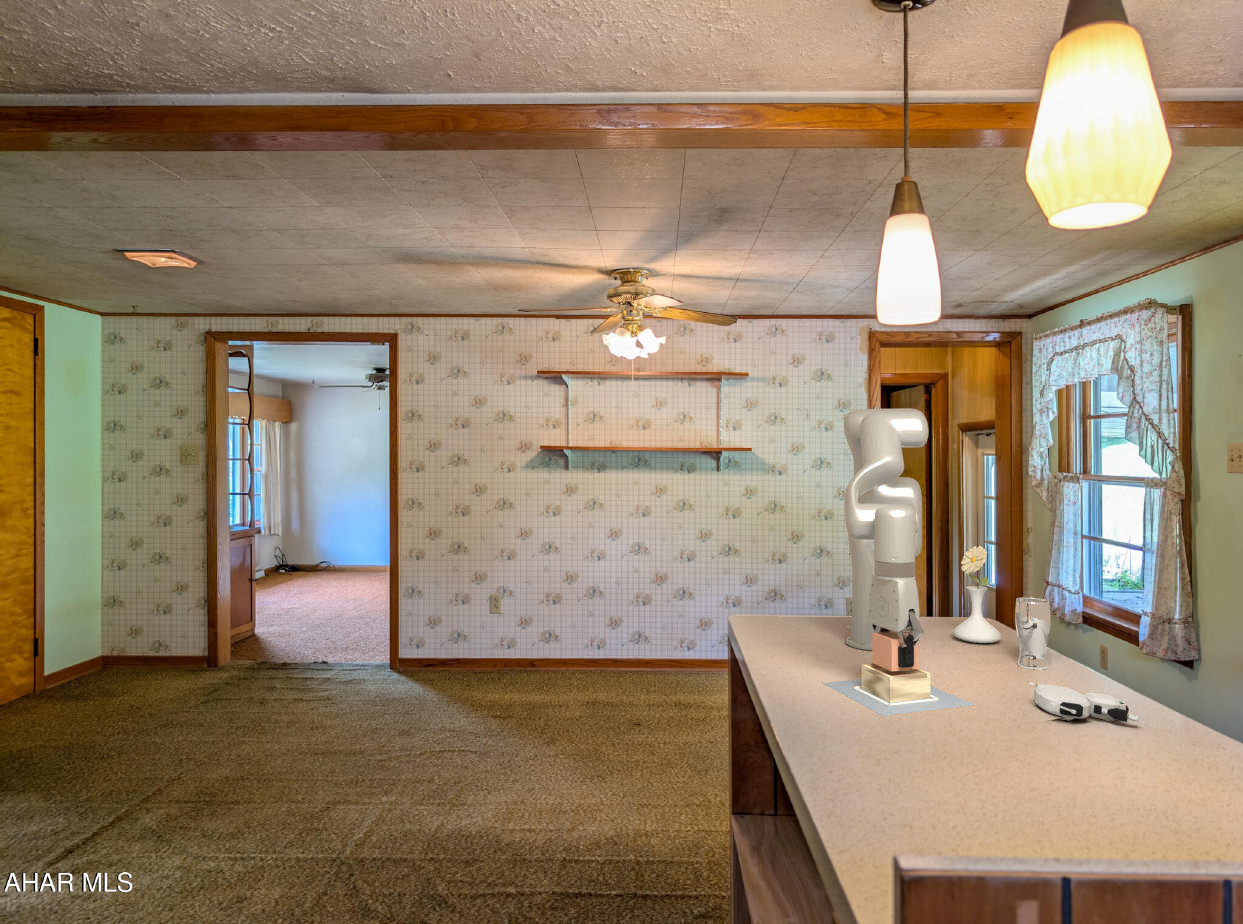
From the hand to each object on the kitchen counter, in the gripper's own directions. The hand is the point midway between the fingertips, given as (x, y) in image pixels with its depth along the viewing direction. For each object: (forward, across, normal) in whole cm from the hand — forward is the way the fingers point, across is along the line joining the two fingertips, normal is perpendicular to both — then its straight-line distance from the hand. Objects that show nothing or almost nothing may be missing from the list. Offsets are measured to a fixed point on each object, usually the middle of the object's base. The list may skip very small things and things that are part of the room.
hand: (894, 661), depth 141 cm
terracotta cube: (+1, 0, 0) cm, 1 cm away
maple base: (+6, 0, 0) cm, 6 cm away
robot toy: (+8, +18, +26) cm, 33 cm away
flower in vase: (+8, -32, +49) cm, 59 cm away
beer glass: (+7, -10, +44) cm, 46 cm away
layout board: (+7, 0, 0) cm, 7 cm away
